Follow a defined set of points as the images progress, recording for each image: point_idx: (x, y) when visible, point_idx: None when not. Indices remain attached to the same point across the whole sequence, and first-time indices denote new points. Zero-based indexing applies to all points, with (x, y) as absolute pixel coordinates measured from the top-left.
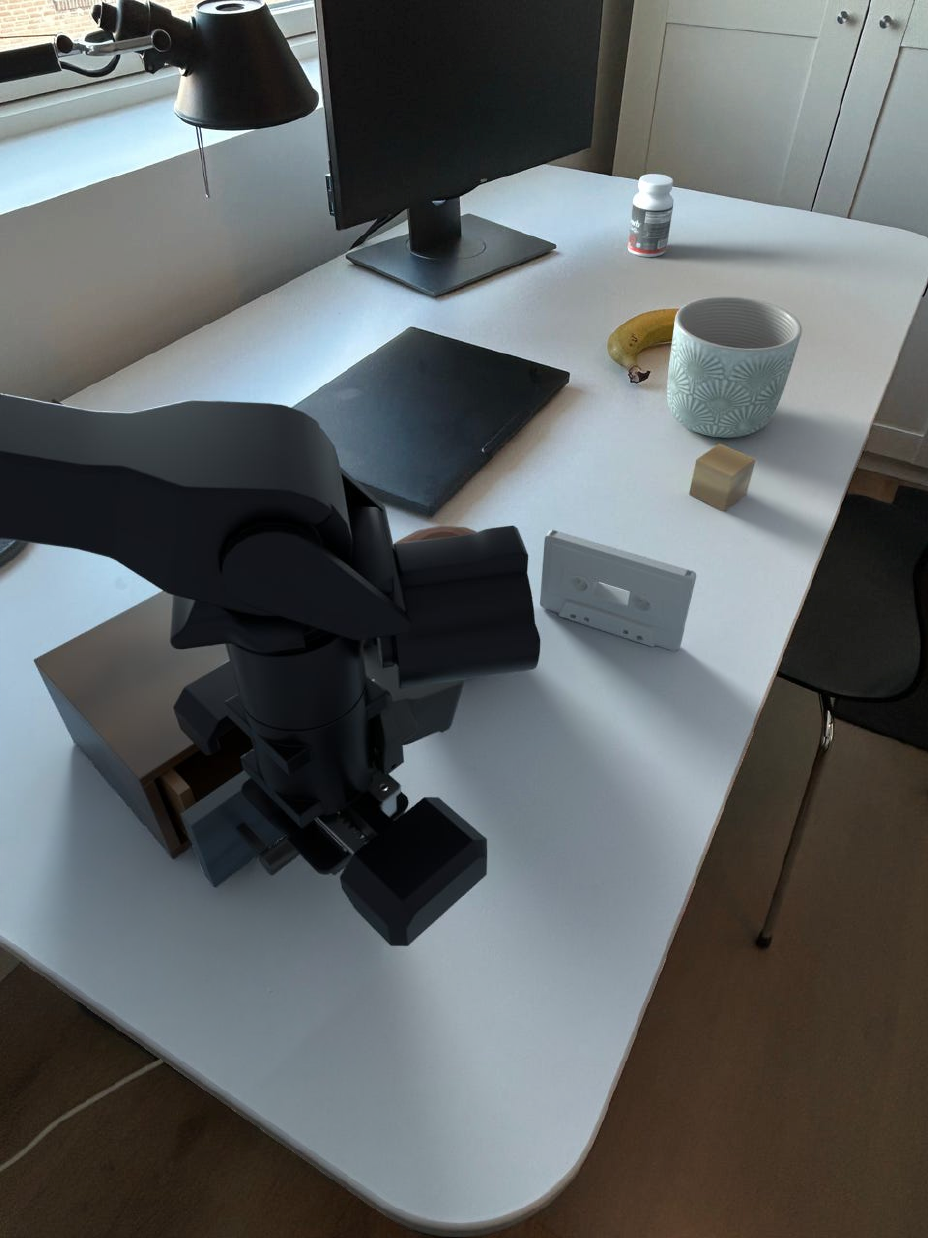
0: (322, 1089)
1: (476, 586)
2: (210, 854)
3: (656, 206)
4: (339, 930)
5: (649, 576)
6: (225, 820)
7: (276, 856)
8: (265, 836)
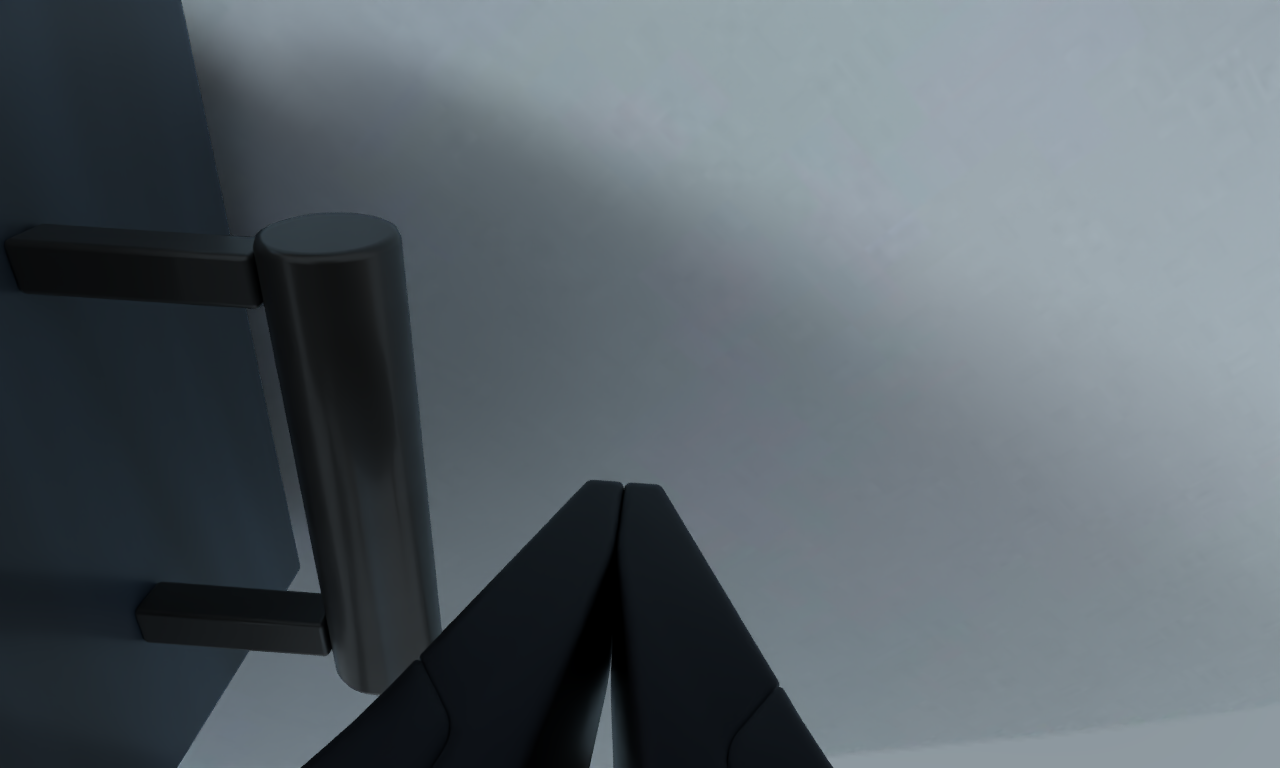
0: (960, 665)
1: None
2: (204, 698)
3: None
4: (685, 390)
5: None
6: (93, 741)
7: (394, 658)
8: (223, 431)
